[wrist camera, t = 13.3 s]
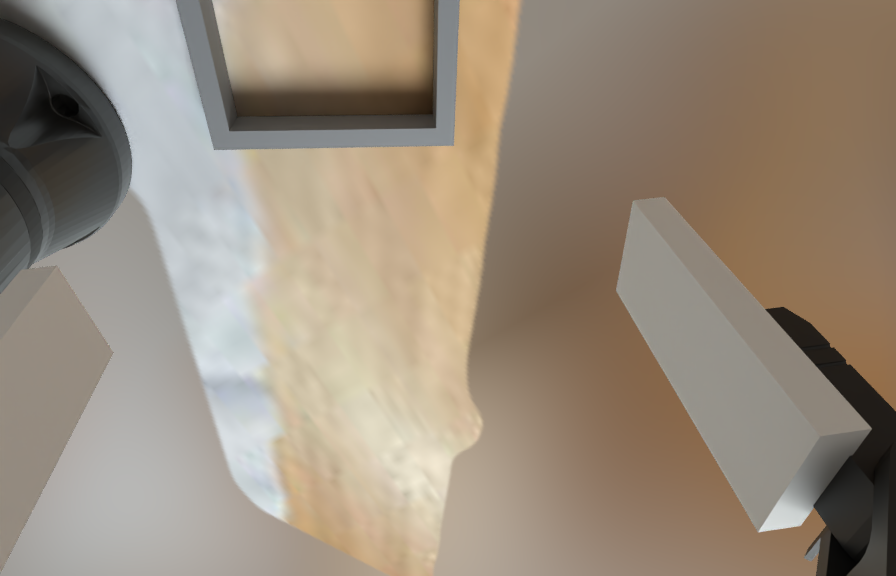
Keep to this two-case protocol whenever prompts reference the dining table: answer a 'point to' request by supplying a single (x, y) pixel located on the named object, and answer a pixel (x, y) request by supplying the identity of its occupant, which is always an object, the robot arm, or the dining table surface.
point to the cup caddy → (318, 129)
